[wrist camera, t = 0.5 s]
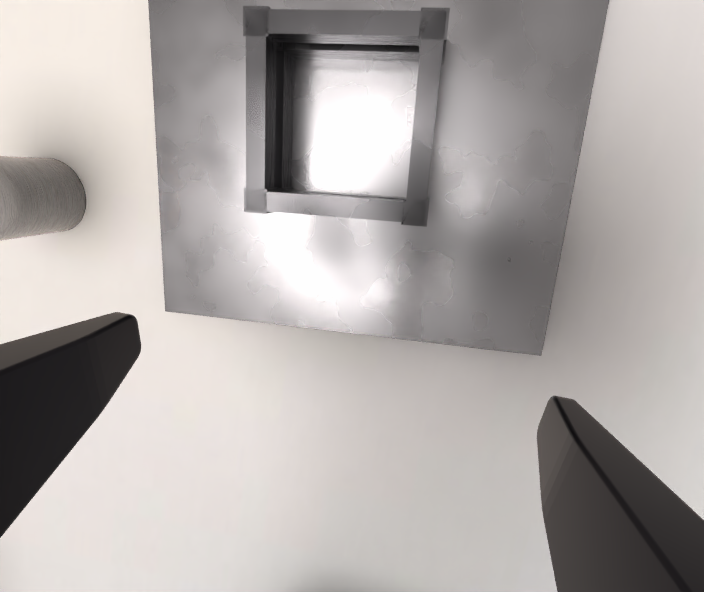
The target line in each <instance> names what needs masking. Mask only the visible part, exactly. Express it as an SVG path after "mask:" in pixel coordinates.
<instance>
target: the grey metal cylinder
mask: <svg viewBox="0 0 704 592" xmlns="http://www.w3.org/2000/svg"><path fill="white" fill-rule="evenodd" d="M85 207H86V198H85V192H84V188H83V186H82V183H81V181H80V179H79V178H78V176H77V175H76V174H75V172H74V171H73V170H72V169H71V168H70V167H69V166H67V165H66V164H64V163H63V162H61V161H58V160H55V159H51V158H29V157H8V156H0V241H1V240H7V239H14V238H21V237H28V236H34V235H41V234H48V233H54V232H61V231H66V230H70V229H72V228H73V227H75V226H76V225H77V224H78V223H79V222H80V221H81V219H82V217H83V215H84V212H85Z"/></svg>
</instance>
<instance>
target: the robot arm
mask: <svg viewBox="0 0 704 592" xmlns="http://www.w3.org/2000/svg"><path fill="white" fill-rule="evenodd" d="M140 351H141V341H140V335H139V329H138V323H137V319H136V318H135V316H133V315H130V314H125V313H120V312H115V313H111V314H107V315H104V316H100V317H96V318H93V319H89V320H86V321H82V322H79V323H75V324H71V325H68V326H64V327H61V328H57V329H54V330H50V331H46V332H43V333H39V334H36V335H32V336H29V337H25V338H22V339H18V340H14V341H11V342H7V343H4V344H0V538H1V536H2V535H3V534H4V533H5V531H6V530H7V529H8V528H9V527H10V525H11V524H12V523H13V522H14V520H15V519H16V518H17V517H18V515H19V514H20V513H21V512H22V510H23V509H24V508H25V507H26V505H27V504H28V503H29V502H30V501H31V499H32V498H33V497H34V496H35V494H36V493H37V492H38V491H39V489H40V488H41V487H42V486H43V484H44V483H45V482H46V481H47V479H48V478H49V477H50V476H51V475H52V473H53V472H54V471H55V470H56V468H57V467H58V466H59V465H60V463H61V462H62V461H63V460H64V458H65V457H66V456H67V455H68V454H69V452H70V451H71V450H72V449H73V447H74V446H75V445H76V444H77V442H78V441H79V440H80V439H81V437H82V436H83V435H84V434H85V432H86V431H87V430H88V429H89V428H90V426H91V425H92V424H93V423H94V421H95V420H96V419H97V418H98V416H99V415H100V414H101V412H102V411H103V410H104V408H105V407H106V405H107V404H108V402H109V401H110V399H111V398H112V396H113V395H114V393H115V392H116V390H117V389H118V387H119V386H120V384H121V383H122V381H123V380H124V378H125V376H126V375H127V373H128V372H129V370H130V369H131V367H132V366H133V364H134V363H135V361H136V360H137V358H138V356H139V354H140ZM537 444H538V459H539V474H540V488H541V501H542V511H543V517H544V523H545V528H546V533H547V539H548V544H549V549H550V554H551V560H552V565H553V570H554V576H555V581H556V586H557V591H558V592H704V520H703V519H702V518H701V517H700V516H699V515H698V514H697V513H695V512H694V511H693V510H692V509H691V508H690V507H689V506H688V505H687V504H686V503H685V502H684V501H683V500H681V499H680V498H679V497H678V496H677V495H676V494H675V493H674V492H673V491H672V490H671V489H670V488H669V487H667V486H666V485H665V484H664V483H663V482H662V481H661V480H660V479H659V478H658V477H657V476H656V475H655V474H653V473H652V472H651V471H650V470H649V469H648V468H647V467H646V466H645V465H644V464H643V463H642V462H641V461H639V460H638V459H637V458H636V457H635V456H634V455H633V454H632V453H631V452H630V451H629V450H628V449H627V448H625V447H624V446H623V445H622V444H621V443H620V442H619V441H618V440H617V439H616V438H615V437H614V436H613V435H612V434H610V433H609V432H608V431H607V430H606V429H605V428H604V427H603V426H602V425H601V424H600V423H599V422H598V421H596V420H595V419H594V418H593V417H592V416H591V415H590V414H589V413H588V412H587V411H586V410H585V409H584V408H582V407H581V406H580V405H579V404H578V403H577V402H576V401H575V400H573V399H569V398H563V397H558V396H553V397H551V398H550V399H549V401H548V403H547V406H546V408H545V411H544V413H543V416H542V418H541V421H540V424H539V426H538V431H537Z"/></svg>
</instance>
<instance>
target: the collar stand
mask: <svg viewBox="0 0 704 592" xmlns="http://www.w3.org/2000/svg"><path fill="white" fill-rule="evenodd" d="M148 3H149V21H150V39H151V58H152V76H153V94H154V113H155V131H156V149H157V168H158V186H159V205H160V223H161V241H162V260H163V278H164V296H165V311H168V312H176V313H185V314H193V315H202V316H210V317H219V318H227V319H235V320H244V321H252V322H261V323H269V324H278V325H286V326H295V327H303V328H312V329H320V330H328V331H337V332H345V333H354V334H362V335H371V336H379V337H388V338H396V339H405V340H413V341H421V342H430V343H438V344H447V345H455V346H464V347H472V348H481V349H489V350H498V351H506V352H514V353H523V354H531V355H540V356H541V354H542V349H543V344H544V339H545V333H546V328H547V323H548V318H549V312H550V307H551V302H552V297H553V292H554V286H555V281H556V276H557V271H558V265H559V260H560V255H561V250H562V244H563V239H564V234H565V229H566V223H567V218H568V213H569V208H570V203H571V197H572V192H573V187H574V182H575V176H576V171H577V166H578V161H579V155H580V150H581V145H582V140H583V134H584V129H585V124H586V119H587V114H588V108H589V103H590V98H591V93H592V87H593V82H594V77H595V72H596V66H597V61H598V56H599V51H600V45H601V40H602V35H603V30H604V24H605V19H606V14H607V9H608V4H609V0H148Z"/></svg>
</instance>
